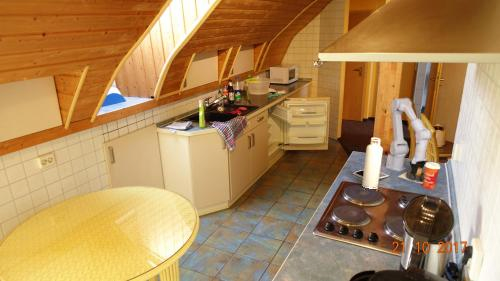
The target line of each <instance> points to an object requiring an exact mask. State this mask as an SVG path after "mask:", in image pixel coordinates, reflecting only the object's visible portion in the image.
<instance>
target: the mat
mask: <svg viewBox="0 0 500 281" xmlns="http://www.w3.org/2000/svg"><path fill="white" fill-rule="evenodd" d="M397 177H398V178H401V179H405V180H407V181H410V182H414V183H418V184H421V185H423V182H416V181H412V180H409V179H407V178H406V172H404V173H402V174H400V175H398V176H397Z"/></svg>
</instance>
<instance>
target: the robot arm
mask: <svg viewBox="0 0 500 281" xmlns="http://www.w3.org/2000/svg"><path fill="white" fill-rule="evenodd" d="M412 106H413V103H412V101H411V99H410V98H408V97H404V98H403V97H401V98H393V99H392V100H391V102H390V109H391V121H392V122H391V123H392V132H393V141H392V142H391V143H390V148H389V151H390V153H388V155H387V158H386V163H385V164H386V166H385V168H387V169H391V170H393V171H397V172H401V171H404V170H405V169H406V167H405V166H404V165H405V164H404V163H405V158H406V156H407V155H408V154H409V151H410V148H409V145H408V142H407V140H405V139H404V132H403V122H402V114H403V112H404V113H405V115H406V116H407V118H409V120H410V121H411V122H410V126H411V128H412V129H413V131H414V137H415V148H414V153H413V154H414V155H413V157H412V158H413V159H412V160H411V161H409V164H410V170H412V174H414V175H416V174H417V171H418V168H419V167H420V168H422V170H423V169H424V168H425V164H426V163H427V162H428V159H427V154H426V153H427V148H428V143H429V140H430V139H432V132H431V130H430V129H428V128H427V127H425V125H424V124H423V121H422V119H420V118H418V116H416V113H415V111H414V109H413V107H412Z"/></svg>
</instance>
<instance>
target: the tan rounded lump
mask: <svg viewBox="0 0 500 281" xmlns="http://www.w3.org/2000/svg"><path fill="white" fill-rule="evenodd" d="M422 172H423V169H422V168H420V167H419V168H418V171H417V174H416V175H418V176H421V173H422ZM413 175H414V174H413Z"/></svg>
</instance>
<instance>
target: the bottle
mask: <svg viewBox="0 0 500 281" xmlns="http://www.w3.org/2000/svg"><path fill="white" fill-rule="evenodd" d="M381 141H382V140H381V138H379V137H371V139H370V144H368V145H367V146H366V150H365V157H364V167H363V176H362V181H361V182H362V183H361V187H362V186H363V187H365V188H369V189H377V190H378V188H379V187H378V186H379V181H380V180H379V179H380V173H381V166H382V159H383V158H382V157H383V151H384V147H382V146H381Z"/></svg>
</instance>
